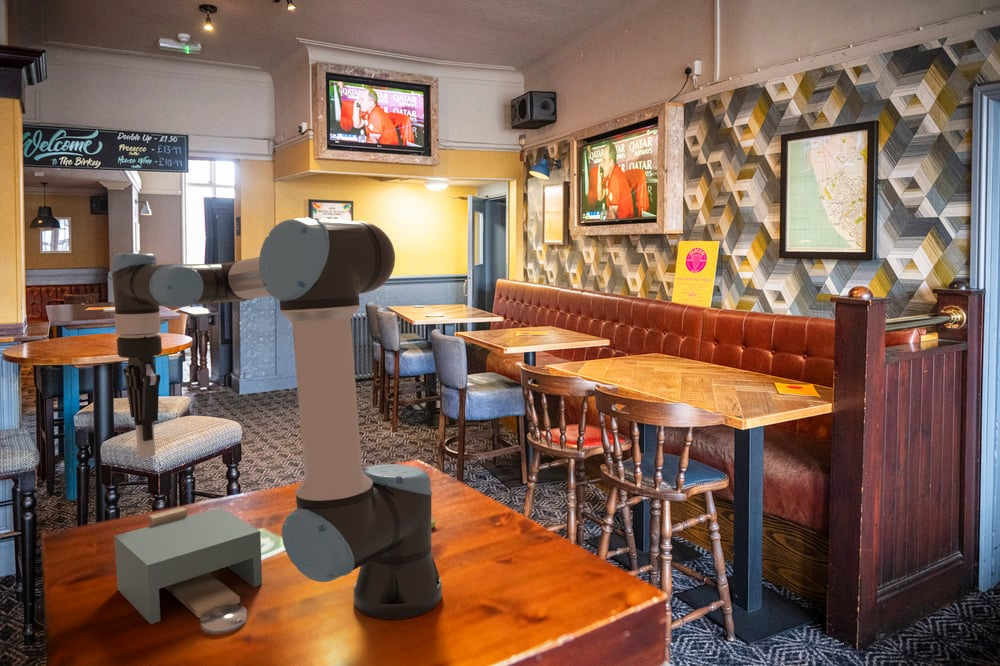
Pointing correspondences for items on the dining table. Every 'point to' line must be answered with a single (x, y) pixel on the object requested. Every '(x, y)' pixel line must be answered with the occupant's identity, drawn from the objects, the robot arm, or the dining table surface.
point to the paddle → (196, 579)
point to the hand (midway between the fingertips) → (146, 455)
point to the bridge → (184, 555)
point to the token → (223, 619)
